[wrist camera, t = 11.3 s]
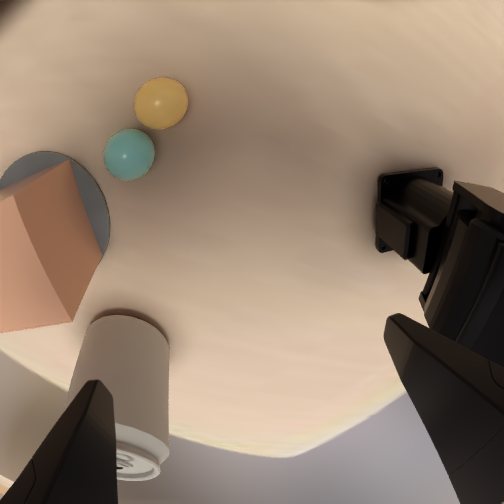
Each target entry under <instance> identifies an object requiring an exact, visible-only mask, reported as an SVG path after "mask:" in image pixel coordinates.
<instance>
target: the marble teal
mask: <svg viewBox="0 0 504 504" xmlns="http://www.w3.org/2000/svg"><path fill="white" fill-rule="evenodd" d="M154 157H155V149H154V145H153V143H152V141H151V139H150V138H149V136H148V135H147V134H145V133H144V132H142V131H140V130H137V129H125V130H121V131H119V132H117V133H116V134H114V135H113V136H112V137H111V138H110V139H109V141H108V142H107V144H106V146H105V149H104V163H105V166H106V168H107V170H108V171H109V173H110V174H111V175H113V176H114V177H115V178H118V179H120V180H125V181H130V180H135V179H138V178H140V177H142V176H143V175H144V174H145V173H147V171H148V170H149V169H150V168H151V166H152V164H153V161H154Z"/></svg>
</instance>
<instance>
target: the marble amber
mask: <svg viewBox="0 0 504 504" xmlns="http://www.w3.org/2000/svg"><path fill="white" fill-rule="evenodd" d="M187 107H188V96H187V93H186V91H185V89H184V87H183V86H182V85H181V84H180V83H179V82H177V81H176V80H174V79H171V78H166V77H159V78H155V79H152V80H150V81H148V82H146V83H145V84H144V85H143V86H142V87H141V88H140V89H139V90H138V92H137V94H136V96H135V99H134V111H135V114H136V117H137V118H138V120H139V121H140V122H141V123H142V124H143V125H145V126H146V127H148V128H151V129H158V130H160V129H166V128H169V127H172V126H174V125H175V124H177V123H178V122H179V121H180V120H181V119H182V118H183V116H184V114H185V113H186V110H187Z"/></svg>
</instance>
